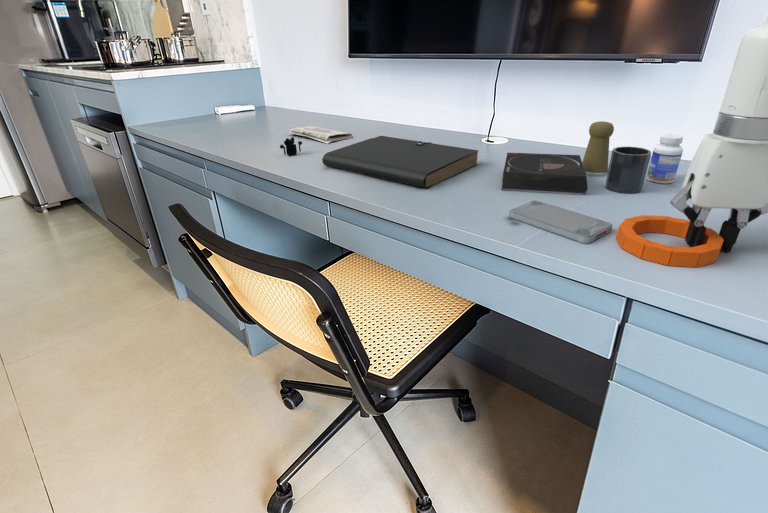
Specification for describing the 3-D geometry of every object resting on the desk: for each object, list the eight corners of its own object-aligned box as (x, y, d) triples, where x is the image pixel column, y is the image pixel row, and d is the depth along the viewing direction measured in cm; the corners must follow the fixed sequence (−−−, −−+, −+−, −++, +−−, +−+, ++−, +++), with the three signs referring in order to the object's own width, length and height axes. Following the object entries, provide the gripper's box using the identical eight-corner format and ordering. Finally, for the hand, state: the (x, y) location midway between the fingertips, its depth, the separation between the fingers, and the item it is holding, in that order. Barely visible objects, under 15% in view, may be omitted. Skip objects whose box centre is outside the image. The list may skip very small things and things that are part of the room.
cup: (636, 183, 95) (645, 146, 91) (646, 194, 89) (656, 155, 85) (601, 182, 97) (609, 146, 93) (609, 193, 91) (617, 155, 87)
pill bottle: (645, 175, 100) (656, 132, 95) (673, 177, 97) (685, 133, 93) (646, 182, 95) (657, 137, 91) (675, 185, 93) (688, 139, 88)
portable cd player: (586, 195, 90) (590, 176, 88) (501, 190, 95) (503, 172, 93) (579, 171, 104) (582, 155, 102) (505, 168, 109) (507, 152, 107)
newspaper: (286, 135, 154) (286, 127, 153) (315, 132, 162) (314, 125, 161) (324, 144, 139) (323, 136, 138) (353, 140, 146) (353, 133, 145)
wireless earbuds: (282, 157, 127) (279, 140, 124) (278, 156, 129) (276, 138, 126) (304, 153, 130) (301, 136, 128) (300, 151, 132) (298, 135, 130)
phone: (586, 245, 70) (587, 237, 70) (506, 216, 82) (507, 210, 81) (613, 230, 74) (614, 224, 74) (533, 205, 86) (534, 199, 85)
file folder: (479, 148, 110) (423, 174, 95) (478, 164, 112) (423, 192, 97) (381, 134, 130) (321, 153, 114) (382, 147, 132) (323, 168, 116)
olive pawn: (594, 173, 102) (603, 125, 97) (575, 167, 107) (582, 121, 102) (613, 169, 104) (623, 122, 99) (593, 163, 109) (601, 118, 104)
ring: (695, 230, 73) (699, 217, 72) (735, 269, 62) (741, 254, 61) (608, 226, 76) (611, 213, 75) (631, 263, 64) (634, 249, 63)
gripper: (802, 121, 61) (755, 239, 69) (670, 122, 64) (641, 234, 73) (840, 133, 54) (783, 262, 63) (692, 133, 58) (656, 255, 66)
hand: (707, 246), depth 68 cm, fingers open, 3 cm apart
